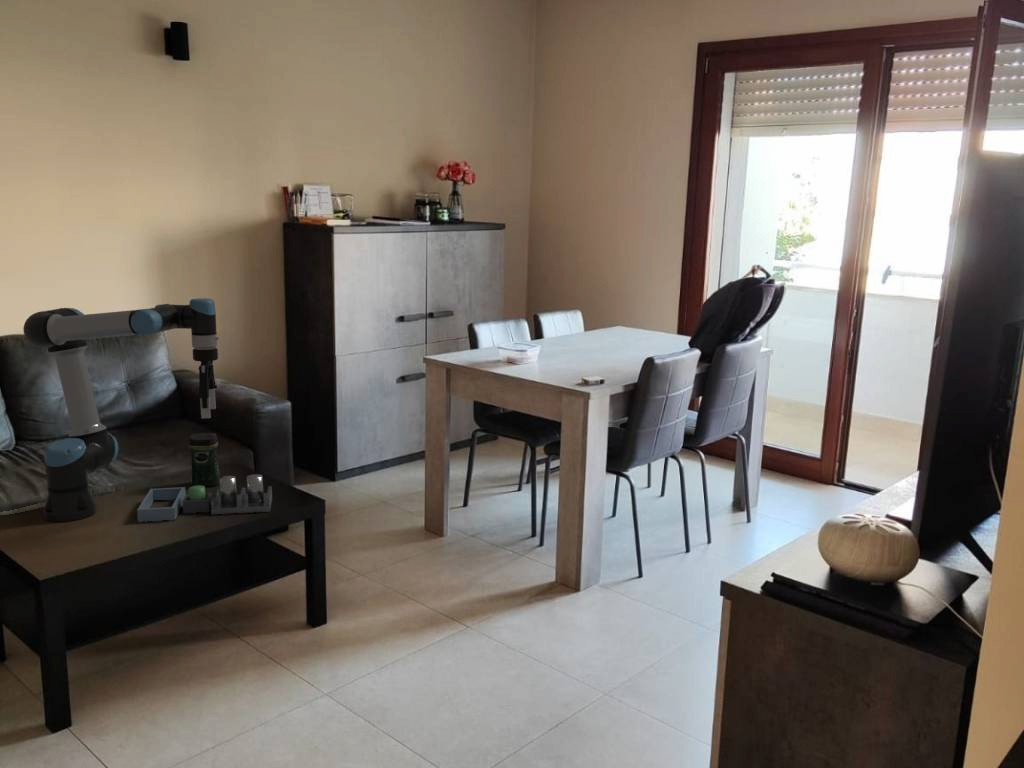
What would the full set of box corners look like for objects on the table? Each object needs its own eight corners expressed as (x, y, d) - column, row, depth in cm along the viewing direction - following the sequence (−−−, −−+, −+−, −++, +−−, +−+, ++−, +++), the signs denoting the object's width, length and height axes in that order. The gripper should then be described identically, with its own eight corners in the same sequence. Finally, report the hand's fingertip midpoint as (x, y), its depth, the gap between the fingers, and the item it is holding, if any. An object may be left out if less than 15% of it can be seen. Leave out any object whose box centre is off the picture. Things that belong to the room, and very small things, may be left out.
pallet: (211, 515, 282) (210, 501, 281) (216, 501, 295) (215, 488, 294) (269, 511, 285) (269, 498, 284) (272, 498, 299) (271, 485, 298)
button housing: (183, 513, 283) (182, 501, 282) (186, 505, 290) (186, 494, 290) (209, 512, 284) (208, 500, 284) (212, 504, 292) (211, 492, 291)
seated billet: (220, 504, 286) (218, 480, 285) (221, 499, 291) (220, 476, 289) (236, 503, 287) (234, 479, 286) (237, 498, 292) (236, 475, 290)
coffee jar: (222, 480, 318) (220, 430, 315) (216, 487, 311) (214, 436, 307) (195, 481, 318) (192, 430, 314) (188, 487, 310) (185, 436, 306)
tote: (137, 522, 274) (137, 510, 274) (151, 500, 296) (150, 488, 295) (175, 520, 277) (174, 507, 276) (185, 498, 298) (185, 487, 297)
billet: (247, 502, 288) (245, 479, 286) (248, 497, 293) (247, 474, 291) (263, 501, 289) (261, 478, 287) (264, 496, 294) (263, 473, 292)
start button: (188, 508, 284) (187, 490, 283) (190, 503, 289) (189, 485, 288) (204, 507, 285) (203, 489, 284) (206, 502, 290) (205, 485, 289)
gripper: (212, 353, 267) (216, 421, 271) (221, 342, 291) (225, 404, 295) (186, 353, 266) (190, 422, 270) (198, 342, 290) (201, 405, 294)
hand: (208, 413), depth 282 cm, fingers open, 13 cm apart
